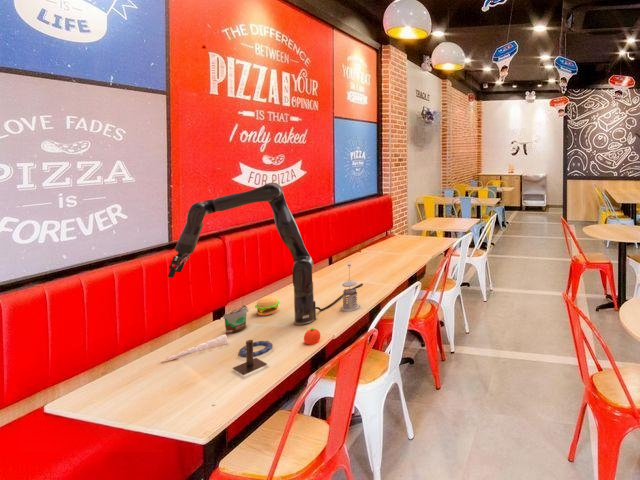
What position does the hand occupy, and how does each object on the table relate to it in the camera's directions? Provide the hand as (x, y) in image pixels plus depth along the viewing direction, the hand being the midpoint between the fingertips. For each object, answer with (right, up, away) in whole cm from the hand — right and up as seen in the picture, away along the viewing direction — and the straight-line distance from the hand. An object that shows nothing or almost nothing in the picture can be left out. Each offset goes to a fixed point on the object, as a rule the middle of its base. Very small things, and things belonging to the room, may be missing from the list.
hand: (174, 274), depth 182 cm
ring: (+47, -29, -15) cm, 57 cm away
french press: (+72, -29, +33) cm, 85 cm away
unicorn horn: (+21, -31, -14) cm, 40 cm away
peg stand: (+53, -30, -28) cm, 67 cm away
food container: (+26, -30, +9) cm, 41 cm away
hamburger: (+28, -30, +30) cm, 51 cm away
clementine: (+69, -30, -7) cm, 76 cm away
